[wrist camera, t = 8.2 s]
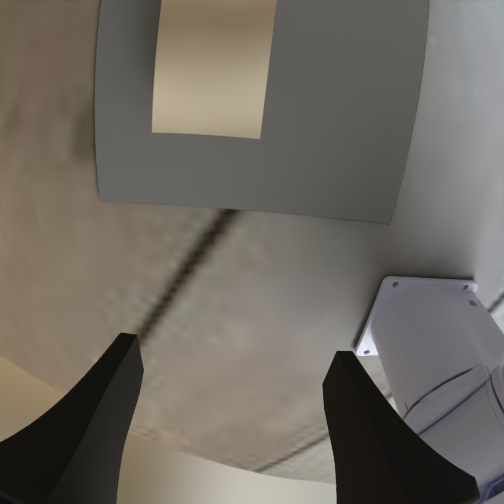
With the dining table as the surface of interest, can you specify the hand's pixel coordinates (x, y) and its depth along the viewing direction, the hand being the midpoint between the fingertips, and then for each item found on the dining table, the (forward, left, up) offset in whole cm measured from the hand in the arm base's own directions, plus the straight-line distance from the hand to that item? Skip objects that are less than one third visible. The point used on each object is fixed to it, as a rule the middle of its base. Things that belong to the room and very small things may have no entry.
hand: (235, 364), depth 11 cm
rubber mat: (0, -10, -10) cm, 14 cm away
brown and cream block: (+2, -12, -10) cm, 15 cm away
